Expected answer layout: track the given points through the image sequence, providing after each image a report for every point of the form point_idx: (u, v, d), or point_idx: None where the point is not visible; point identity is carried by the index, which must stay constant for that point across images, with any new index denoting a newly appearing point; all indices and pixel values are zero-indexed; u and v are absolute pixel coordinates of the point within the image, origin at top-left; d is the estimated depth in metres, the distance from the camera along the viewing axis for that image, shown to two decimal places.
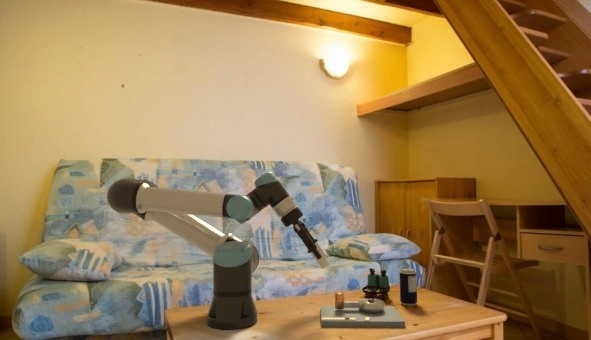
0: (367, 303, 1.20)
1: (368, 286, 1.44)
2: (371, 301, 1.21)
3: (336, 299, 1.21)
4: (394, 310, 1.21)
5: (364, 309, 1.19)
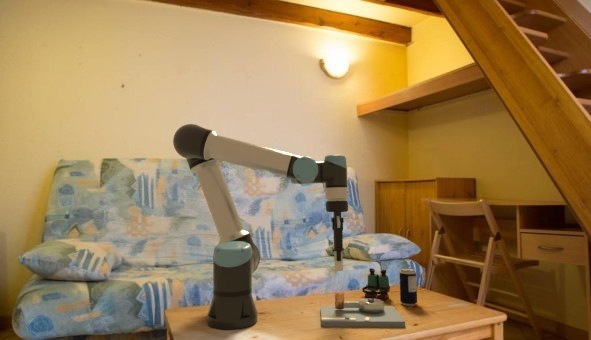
0: (367, 303, 1.20)
1: (368, 286, 1.44)
2: (371, 301, 1.21)
3: (336, 299, 1.21)
4: (394, 310, 1.21)
5: (364, 309, 1.19)
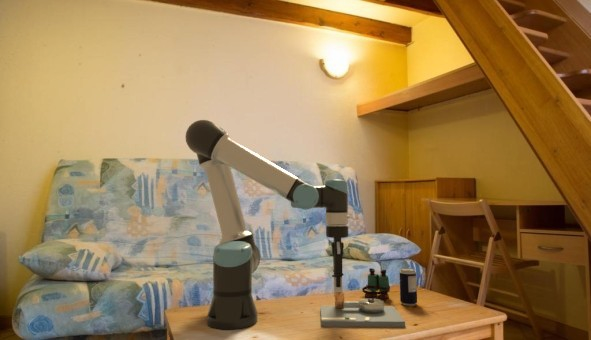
0: (367, 303, 1.20)
1: (368, 286, 1.44)
2: (371, 301, 1.21)
3: (336, 299, 1.21)
4: (394, 310, 1.21)
5: (364, 309, 1.19)
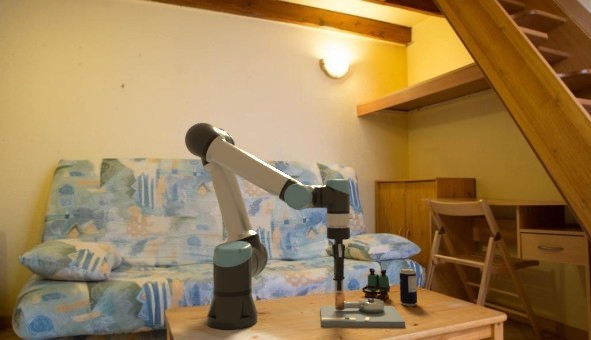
0: (368, 303, 1.20)
1: (368, 286, 1.44)
2: (371, 301, 1.21)
3: (337, 300, 1.20)
4: (394, 310, 1.21)
5: (365, 310, 1.18)
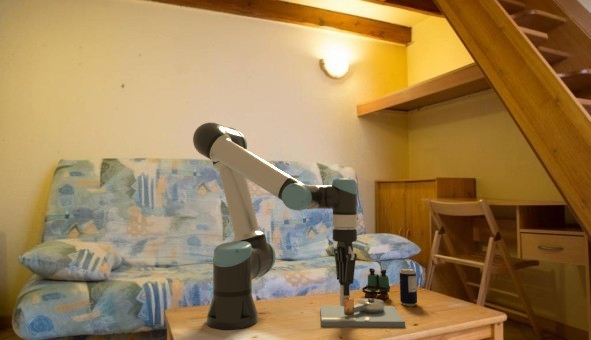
0: (373, 303, 1.19)
1: (368, 286, 1.44)
2: (373, 301, 1.21)
3: (348, 305, 1.14)
4: (394, 310, 1.21)
5: (373, 310, 1.18)
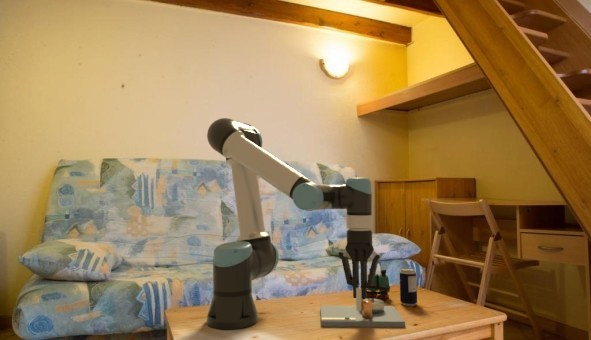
0: (377, 303, 1.20)
1: None
2: (374, 300, 1.22)
3: (370, 308, 1.11)
4: (394, 310, 1.21)
5: (380, 309, 1.18)
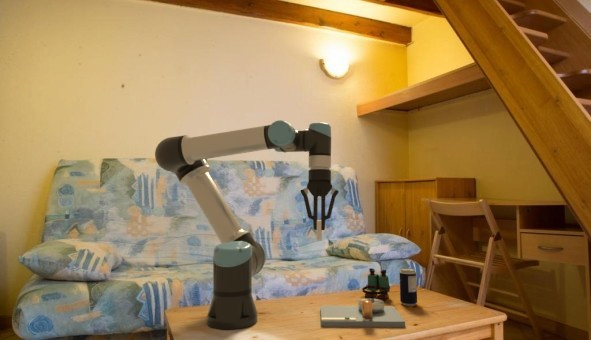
0: (377, 303, 1.20)
1: (368, 286, 1.44)
2: (374, 300, 1.22)
3: (370, 308, 1.11)
4: (394, 310, 1.21)
5: (380, 309, 1.18)
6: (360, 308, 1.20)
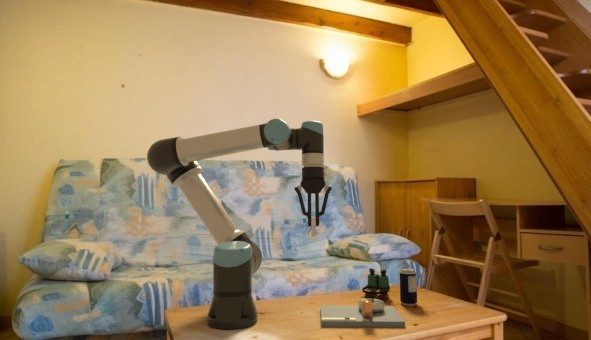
0: (377, 303, 1.20)
1: (368, 286, 1.44)
2: (374, 300, 1.22)
3: (370, 308, 1.11)
4: (394, 310, 1.21)
5: (380, 309, 1.18)
6: (360, 308, 1.20)
